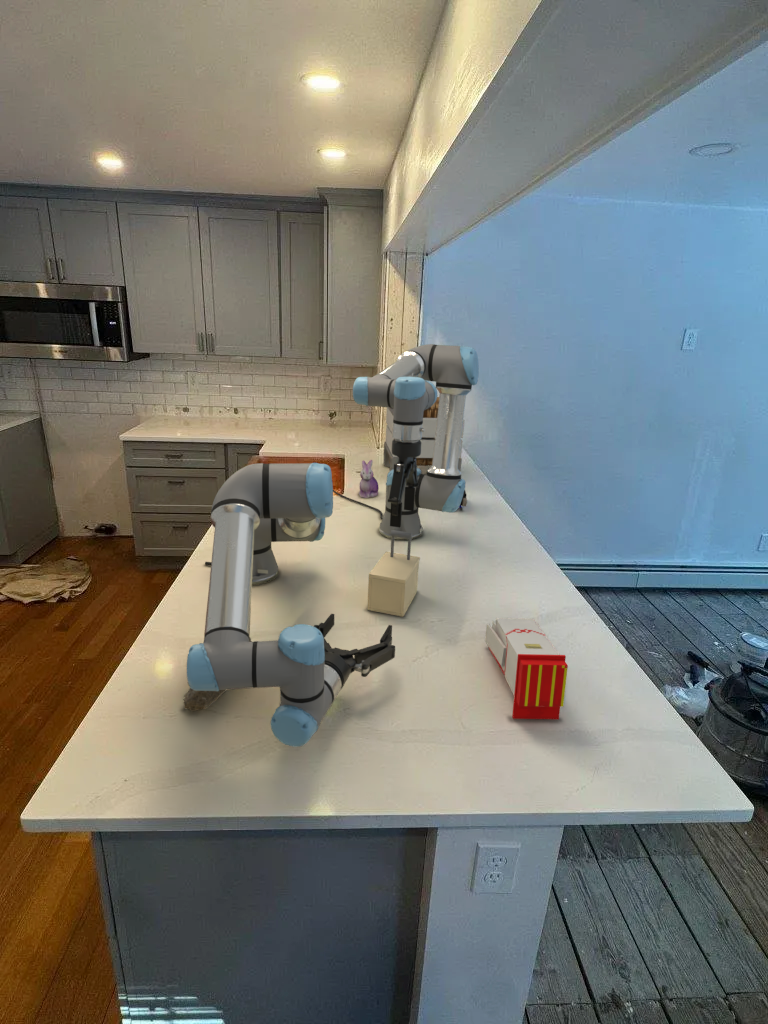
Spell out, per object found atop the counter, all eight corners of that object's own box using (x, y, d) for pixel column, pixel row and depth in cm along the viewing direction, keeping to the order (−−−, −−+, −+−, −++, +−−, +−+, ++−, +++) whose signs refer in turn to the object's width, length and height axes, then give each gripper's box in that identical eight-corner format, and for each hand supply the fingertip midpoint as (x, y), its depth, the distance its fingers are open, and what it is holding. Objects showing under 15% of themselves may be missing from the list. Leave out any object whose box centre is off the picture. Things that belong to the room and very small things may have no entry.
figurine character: (467, 515, 225) (461, 499, 238) (469, 498, 221) (463, 482, 235) (450, 514, 224) (445, 498, 238) (452, 497, 221) (447, 482, 234)
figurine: (363, 499, 233) (364, 464, 228) (353, 492, 242) (354, 458, 236) (383, 497, 237) (385, 462, 232) (373, 490, 246) (374, 456, 241)
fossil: (205, 632, 127) (252, 602, 122) (234, 661, 130) (282, 632, 125) (161, 704, 108) (216, 672, 103) (197, 736, 111) (252, 705, 106)
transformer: (382, 463, 289) (386, 382, 275) (445, 464, 293) (451, 384, 279) (390, 482, 257) (394, 392, 243) (460, 483, 261) (468, 394, 247)
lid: (385, 554, 159) (387, 525, 156) (419, 560, 157) (421, 530, 154) (368, 577, 146) (369, 545, 143) (405, 583, 143) (407, 551, 140)
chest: (383, 586, 162) (385, 555, 159) (416, 592, 159) (419, 561, 156) (367, 610, 149) (368, 577, 146) (403, 616, 146) (405, 583, 143)
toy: (531, 603, 136) (576, 661, 106) (526, 655, 139) (569, 725, 109) (481, 602, 135) (512, 660, 106) (477, 654, 138) (507, 724, 109)
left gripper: (265, 681, 112) (309, 628, 131) (386, 710, 106) (414, 650, 125) (264, 649, 110) (309, 599, 129) (388, 676, 103) (416, 620, 122)
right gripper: (408, 451, 132) (403, 536, 139) (431, 432, 154) (426, 505, 161) (378, 448, 134) (374, 531, 141) (405, 429, 156) (401, 502, 163)
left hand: (361, 624), depth 127 cm, fingers open, 13 cm apart
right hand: (402, 517), depth 151 cm, fingers open, 13 cm apart
